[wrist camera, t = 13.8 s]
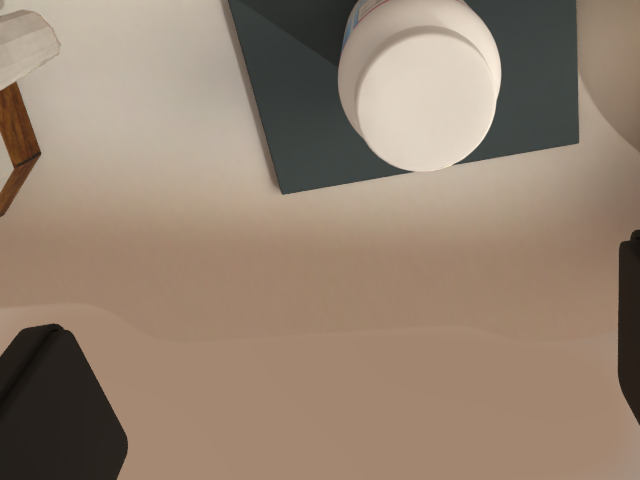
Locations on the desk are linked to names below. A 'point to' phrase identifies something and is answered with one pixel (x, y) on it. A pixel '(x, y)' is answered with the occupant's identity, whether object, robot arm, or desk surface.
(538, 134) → the mat
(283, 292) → the desk surface
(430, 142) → the pill bottle
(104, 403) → the robot arm
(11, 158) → the mug
